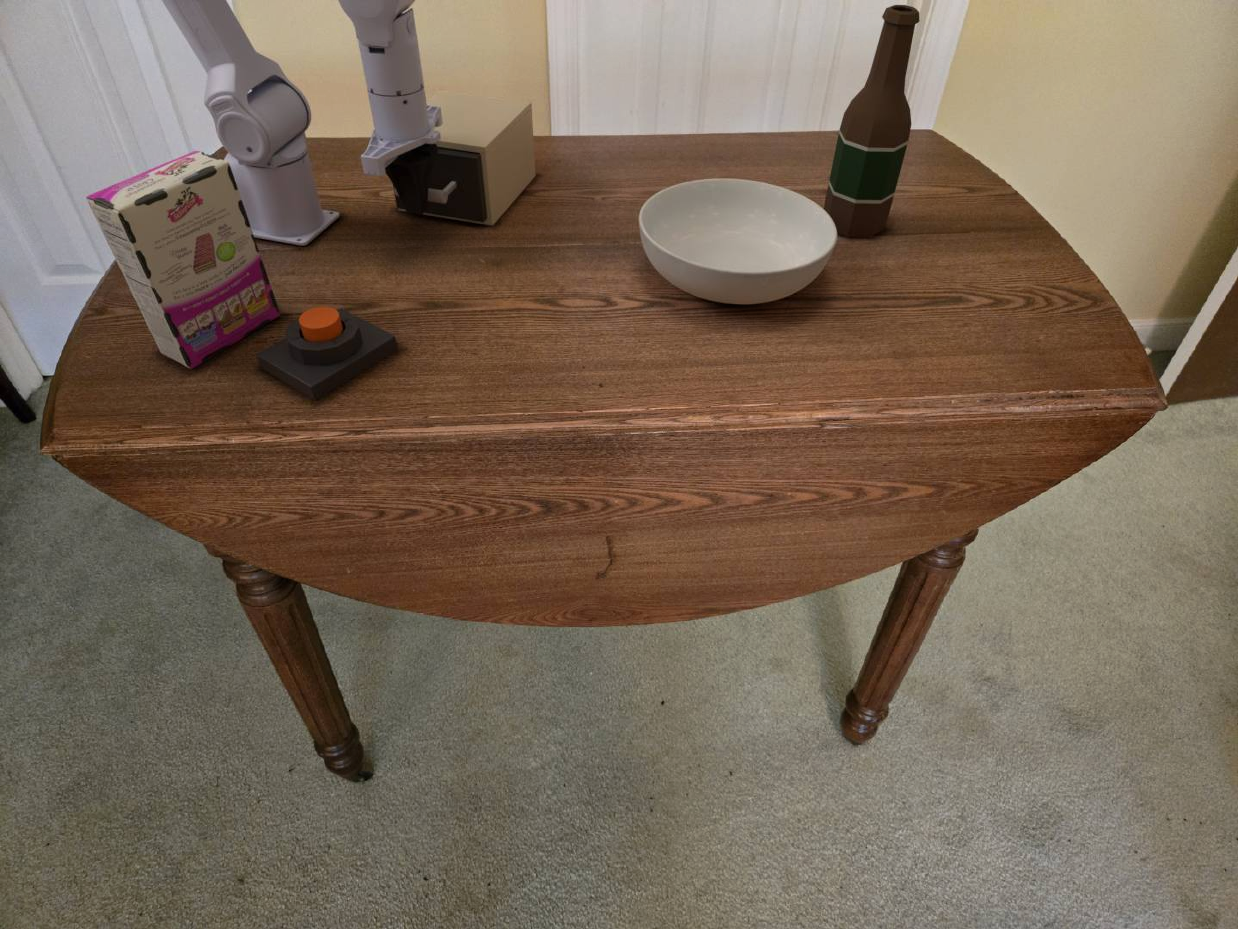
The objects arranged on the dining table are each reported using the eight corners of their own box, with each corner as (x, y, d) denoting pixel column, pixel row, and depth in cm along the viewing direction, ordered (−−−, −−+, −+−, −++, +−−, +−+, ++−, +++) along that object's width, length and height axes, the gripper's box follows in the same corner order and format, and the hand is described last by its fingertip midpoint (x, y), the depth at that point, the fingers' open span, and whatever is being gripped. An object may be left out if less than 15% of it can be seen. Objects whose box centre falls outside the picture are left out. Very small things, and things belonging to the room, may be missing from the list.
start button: (320, 348, 75) (315, 332, 74) (295, 334, 76) (290, 318, 75) (351, 330, 77) (347, 315, 76) (326, 317, 78) (322, 302, 77)
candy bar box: (249, 302, 86) (196, 147, 74) (283, 316, 84) (233, 160, 73) (156, 355, 79) (81, 193, 67) (189, 372, 77) (118, 208, 66)
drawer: (468, 239, 94) (461, 173, 89) (380, 224, 97) (367, 159, 91) (524, 175, 107) (520, 115, 101) (444, 163, 109) (436, 103, 103)
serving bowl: (779, 354, 81) (790, 293, 76) (601, 291, 88) (601, 233, 84) (852, 263, 94) (866, 207, 89) (691, 215, 101) (696, 161, 97)
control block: (315, 401, 74) (306, 370, 72) (261, 368, 78) (250, 338, 75) (398, 350, 80) (392, 320, 78) (344, 321, 83) (336, 292, 81)
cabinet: (492, 225, 99) (485, 147, 92) (398, 210, 101) (384, 132, 94) (535, 175, 109) (531, 101, 102) (449, 162, 111) (439, 89, 105)
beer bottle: (814, 231, 99) (858, 13, 82) (827, 204, 104) (871, -7, 87) (879, 244, 97) (937, 23, 80) (889, 216, 102) (946, 2, 85)
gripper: (398, 117, 77) (419, 246, 87) (461, 67, 88) (474, 188, 97) (331, 108, 79) (360, 236, 88) (401, 60, 89) (420, 180, 98)
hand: (416, 211), depth 93 cm, fingers closed, pressing on drawer
